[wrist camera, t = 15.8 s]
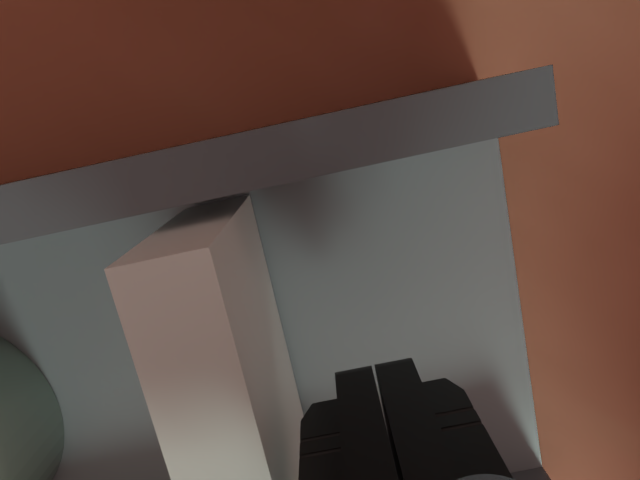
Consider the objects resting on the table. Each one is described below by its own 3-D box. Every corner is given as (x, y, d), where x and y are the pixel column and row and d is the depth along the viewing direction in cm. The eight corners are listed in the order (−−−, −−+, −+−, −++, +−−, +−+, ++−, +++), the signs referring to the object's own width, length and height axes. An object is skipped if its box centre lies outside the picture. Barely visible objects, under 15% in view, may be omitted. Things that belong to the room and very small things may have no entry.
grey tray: (534, 479, 15) (610, 602, 11) (-131, 608, 16) (-273, 766, 12) (479, 80, 13) (552, 64, 9) (-308, 252, 13) (-560, 307, 10)
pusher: (325, 503, 14) (332, 707, 9) (269, 514, 14) (248, 723, 9) (249, 194, 12) (208, 246, 7) (185, 208, 12) (104, 269, 7)
